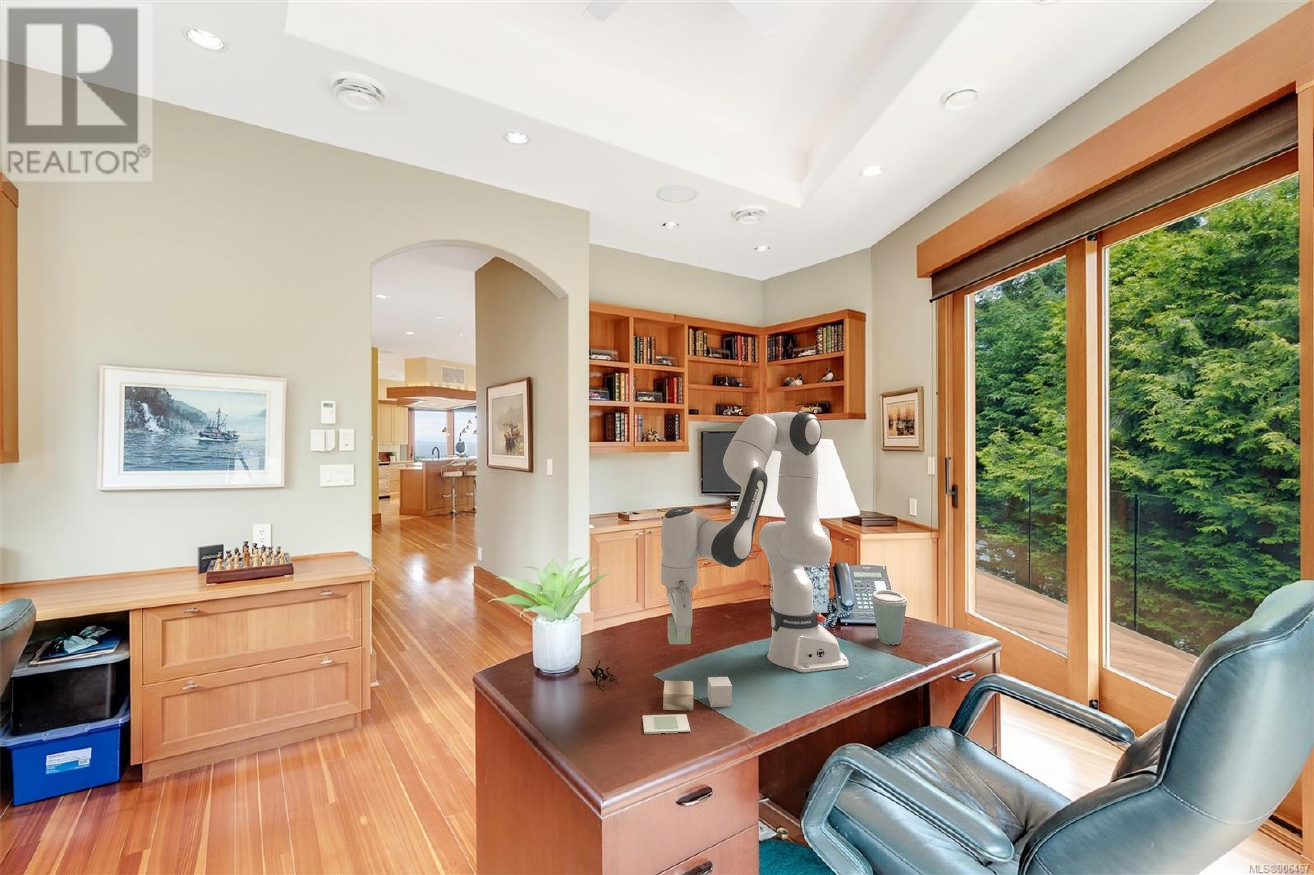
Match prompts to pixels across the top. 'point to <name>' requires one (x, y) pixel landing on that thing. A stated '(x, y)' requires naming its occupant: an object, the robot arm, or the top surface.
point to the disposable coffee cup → (889, 615)
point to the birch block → (678, 695)
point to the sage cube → (673, 633)
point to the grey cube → (719, 692)
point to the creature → (597, 674)
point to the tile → (665, 724)
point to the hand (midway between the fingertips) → (679, 633)
